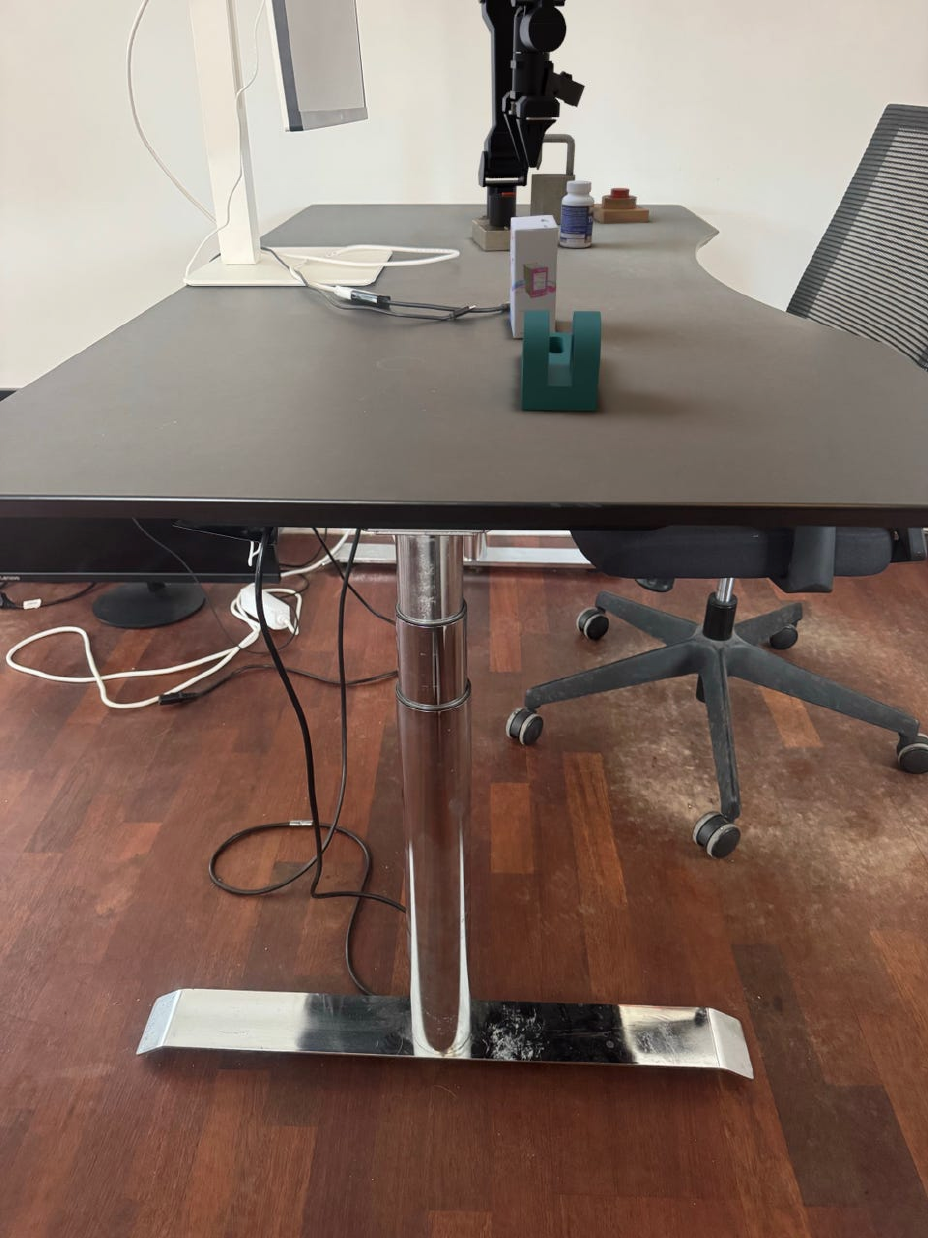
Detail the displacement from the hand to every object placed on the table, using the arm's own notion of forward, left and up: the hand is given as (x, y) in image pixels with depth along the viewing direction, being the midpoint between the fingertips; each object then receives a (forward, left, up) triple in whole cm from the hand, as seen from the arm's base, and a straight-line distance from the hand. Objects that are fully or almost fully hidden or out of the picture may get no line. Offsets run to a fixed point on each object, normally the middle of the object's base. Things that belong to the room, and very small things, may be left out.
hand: (527, 164), depth 145 cm
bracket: (+76, -15, -12) cm, 78 cm away
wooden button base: (-20, +23, -12) cm, 33 cm away
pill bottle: (+6, +7, -12) cm, 15 cm away
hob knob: (+2, -5, -9) cm, 10 cm away
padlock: (-18, +9, -12) cm, 24 cm away
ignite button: (-20, +23, -8) cm, 32 cm away
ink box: (+57, -13, -12) cm, 59 cm away
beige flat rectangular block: (+2, -4, -12) cm, 12 cm away
